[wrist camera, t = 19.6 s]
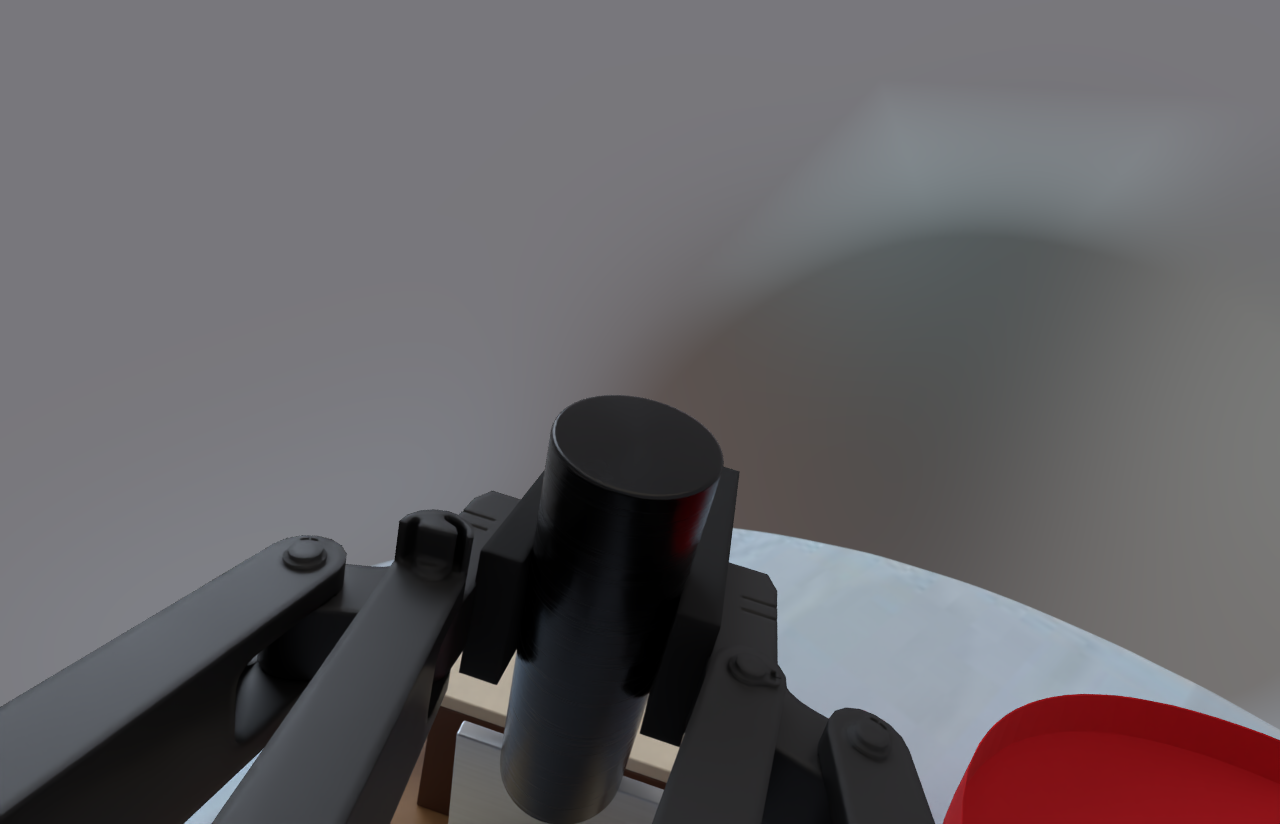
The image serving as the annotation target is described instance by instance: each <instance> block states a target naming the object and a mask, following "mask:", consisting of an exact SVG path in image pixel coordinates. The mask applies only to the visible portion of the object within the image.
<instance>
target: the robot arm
mask: <svg viewBox="0 0 1280 824" xmlns="http://www.w3.org/2000/svg"><path fill="white" fill-rule="evenodd" d="M544 472H545V470H544V471H543V473H542V474H541V475H540V476H539V478H538V479H537V480H536V481H535V483H534V484H533V485H532V487H531V488H530V489H529V490H528V491H527V493H526V494H525V495H524V497H523V498H522V499H517V498H514V497H511V496H508V495H504V494H501V493H498V492H495V491H491V492H488V493H486V494H484V495H481V496H479V497H476V498H474V499H473V500H472V501H471V502H470V503H469V505H468V506H467V507H466V508H465V509H464V511H463V512H461V513H460V514H459V515H457V514H454V513H452V512H449V511H442V510H421V511H417V512H414V513H411V514H408V515H407V516H405V517H404V518H403V519H401V520H400V521H399V529H398V537H397V545H396V553H395V560H394V562H393V563H392V565H391V566H388V567H371V566H361V565H351V564H346V554H347V553H346V552H345V550H344V548H343V547H342V545H340V544H338V543H337V542H335V541H334V540H332V539H328V538H324V537H320V536H306V535H302V536H296V537H290V538H286V539H283V540H281V541H279V542H276V543H274V544H272V545H270V546H269V547H267V548H265V549H264V550H262V551H260V552H259V553H257V554H255V555H254V556H252V557H251V558H249V559H247V560H245V561H244V562H242V563H240V564H239V565H237V566H235V567H233V568H232V569H230V570H228V571H227V572H225V573H223V574H222V575H220V576H219V577H217V578H215V579H213V580H212V581H210V582H208V583H207V584H205V585H203V586H202V587H200V588H199V589H197V590H195V591H193V592H192V593H190V594H189V595H187V596H185V597H183V598H182V599H180V600H178V601H177V602H175V603H173V604H172V605H170V606H168V607H167V608H165V609H163V610H162V611H160V612H158V613H157V614H155V615H153V616H152V617H150V618H148V619H147V620H145V621H143V622H142V623H140V624H138V625H137V626H135V627H133V628H132V629H130V630H128V631H127V632H125V633H123V634H121V635H120V636H118V637H116V638H115V639H113V640H111V641H110V642H108V643H106V644H105V645H103V646H101V647H100V648H98V649H97V650H95V651H93V652H91V653H90V654H88V655H86V656H85V657H83V658H81V659H80V660H78V661H76V662H75V663H73V664H71V665H70V666H68V667H66V668H65V669H63V670H61V671H60V672H58V673H57V674H55V675H53V676H51V677H50V678H48V679H46V680H45V681H43V682H41V683H40V684H38V685H37V686H35V687H33V688H31V689H30V690H28V691H26V692H25V693H23V694H21V695H20V696H18V697H16V698H15V699H13V700H12V701H9V702H8V703H6V704H5V705H3V706H1V707H0V824H184V823H185V822H186V821H187V820H188V819H189V818H190V817H191V816H192V815H193V814H194V813H195V812H196V811H198V810H199V809H200V808H201V807H202V806H203V805H204V804H205V803H206V802H207V801H208V800H209V799H210V798H211V797H212V796H214V795H215V794H216V793H217V792H218V791H219V790H220V789H221V788H222V787H223V786H224V785H225V784H226V783H227V782H228V781H229V780H231V779H232V778H233V777H234V776H235V775H236V774H237V773H238V772H239V771H240V770H241V769H242V768H243V767H244V766H245V765H246V764H248V763H249V762H250V761H251V760H252V759H253V758H254V757H255V756H256V755H257V754H258V753H259V752H260V751H261V750H262V749H263V750H262V752H261V753H260V755H259V756H258V758H257V759H256V760H255V762H254V763H253V765H252V766H251V768H250V769H249V770H248V772H247V773H246V775H245V776H244V778H243V779H242V781H241V782H240V783H239V785H238V786H237V788H236V789H235V791H234V792H233V793H232V795H231V796H230V798H229V799H228V801H227V802H226V804H225V805H224V806H223V808H222V809H221V811H220V812H219V814H218V815H217V817H216V818H215V819H214V821H213V822H212V824H390V823H391V820H392V818H393V816H394V813H395V811H396V809H397V806H398V804H399V802H400V799H401V797H402V795H403V792H404V790H405V788H406V785H407V783H408V781H409V778H410V776H411V774H412V771H413V769H414V766H415V764H416V762H417V759H418V757H419V755H420V752H421V750H422V748H423V745H424V743H425V741H426V738H427V736H428V734H429V731H430V729H431V727H432V724H433V722H434V720H435V717H436V715H437V713H438V710H439V708H440V706H441V703H442V701H443V699H444V696H445V694H446V692H447V689H448V683H449V677H450V672H451V668H452V666H453V665H454V663H455V662H456V660H457V659H458V657H459V656H460V654H461V653H462V657H461V663H460V669H459V673H462V674H465V675H468V676H471V677H473V678H476V679H479V680H482V681H485V682H488V683H491V684H494V685H497V684H498V682H499V681H500V679H501V677H502V675H503V673H504V672H505V670H506V668H507V666H508V664H509V662H510V661H511V659H512V657H513V655H514V653H515V652H516V650H517V645H518V639H519V632H520V626H521V620H522V613H523V607H524V600H525V594H526V587H527V581H528V575H529V568H530V562H531V555H532V549H533V542H534V536H535V530H536V523H537V517H538V510H539V504H540V497H541V491H542V484H543V478H544ZM738 479H739V471H736V470H733V469H729V468H726V467H723V471H722V474H721V477H720V480H719V483H718V486H717V489H716V492H715V495H714V498H713V501H712V504H711V507H710V511H709V514H708V517H707V520H706V523H705V526H704V529H703V532H702V535H701V538H700V541H699V544H698V547H697V550H696V554H695V557H694V560H693V563H692V566H691V569H690V572H689V575H688V578H687V581H686V584H685V587H684V590H683V592H682V594H681V597H680V600H679V603H678V606H677V609H676V612H675V615H674V618H673V621H672V624H671V628H670V631H669V634H668V637H667V640H666V643H665V646H664V649H663V652H662V655H661V658H660V662H659V665H658V668H657V671H656V674H655V677H654V680H653V683H652V686H651V689H650V693H649V697H648V701H647V705H646V709H645V713H644V717H643V721H642V725H641V729H640V734H642V735H645V736H648V737H651V738H653V739H656V740H659V741H662V742H665V743H668V744H671V745H674V746H677V747H680V748H679V750H678V753H677V756H676V759H675V761H674V764H673V767H672V770H671V772H670V775H669V778H668V781H667V783H666V786H665V789H664V791H663V794H662V797H661V800H660V802H659V805H658V808H657V811H656V813H655V816H654V819H653V822H652V824H935V822H934V820H933V817H932V814H931V811H930V808H929V805H928V802H927V800H926V797H925V794H924V791H923V788H922V785H921V782H920V780H919V777H918V774H917V771H916V768H915V765H914V763H913V760H912V757H911V754H910V751H909V749H908V747H907V746H906V744H905V742H904V740H903V738H902V737H901V736H900V735H899V734H898V733H897V732H896V731H895V730H894V729H893V728H892V727H891V726H890V725H889V724H888V723H886V722H885V721H883V720H882V719H880V718H879V717H877V716H876V715H874V714H871V713H868V712H866V711H863V710H861V709H854V708H843V709H840V710H837V711H835V712H834V713H833V714H832V715H831V717H830V718H829V719H828V718H826V717H825V716H823V715H821V714H819V713H818V712H816V711H814V710H813V709H811V708H809V707H808V706H806V705H805V704H803V703H802V702H800V701H799V700H798V699H797V698H796V697H795V696H794V695H793V694H791V693H790V692H789V690H788V689H787V686H786V677H785V675H784V673H783V672H782V670H781V668H780V667H779V665H778V662H777V609H776V608H777V590H776V588H775V586H774V585H773V583H772V581H771V580H770V578H769V576H768V575H767V574H764V573H761V572H758V571H755V570H751V569H748V568H745V567H742V566H739V565H735V564H732V563H729V554H730V546H731V538H732V530H733V521H734V512H735V505H736V496H737V488H738ZM462 651H463V652H462ZM683 736H684V737H683Z"/></svg>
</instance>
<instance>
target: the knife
mask: <svg viewBox="0 0 1280 824" xmlns="http://www.w3.org/2000/svg"><path fill="white" fill-rule="evenodd" d="M723 464H724V461H723V455H722V451H721V448H720V445H719V444H718V442H717V440H716V439H715V437H714V436H713V435H712V433H711V432H709V430H708V429H707V428H706V427H705V426H703V425H702V424H701V423H700V422H698V421H697V420H696V419H694V418H693V417H691V416H689V415H688V414H686V413H684V412H682V411H680V410H678V409H676V408H674V407H671V406H669V405H666V404H663V403H660V402H657V401H653V400H650V399H646V398H640V397H634V396H625V395H604V396H596V397H591V398H587V399H583V400H580V401H578V402H575V403H573V404H572V405H570V406H568V407H567V408H565V409H564V410H563V411H562V412H561V413H560V414H559V415H558V416H557V418H556V419H555V421H554V423H553V425H552V428H551V434H550V440H549V447H548V452H547V459H546V465H545V472H544V478H543V484H542V491H541V497H540V504H539V510H538V517H537V523H536V530H535V536H534V542H533V549H532V555H531V562H530V568H529V575H528V581H527V587H526V594H525V600H524V607H523V613H522V620H521V626H520V632H519V639H518V645H517V652H516V658H515V665H514V671H513V677H512V684H511V690H510V697H509V703H508V710H507V716H506V722H505V729H504V734H502V733H499V732H496V731H494V730H491V729H488V728H485V727H482V726H479V725H476V724H473V723H471V722H468V721H463V722H462V724H461V726H460V728H459V730H458V732H457V736H456V747H455V757H454V767H453V778H452V788H451V799H450V809H449V820H448V824H652V822H653V819H654V816H655V813H656V811H657V808H658V805H659V802H660V800H661V797H662V794H663V791H664V790H663V789H660V788H657V787H654V786H651V785H648V784H646V783H643V782H640V781H637V780H634V779H631V778H628V777H626V776H623V775H624V772H625V769H626V765H627V762H628V759H629V756H630V753H631V750H632V747H633V744H634V741H635V738H636V735H637V732H638V729H639V726H640V722H641V719H642V716H643V713H644V710H645V707H646V704H647V701H648V697H649V693H650V689H651V686H652V683H653V680H654V677H655V674H656V671H657V668H658V665H659V662H660V658H661V655H662V652H663V649H664V646H665V643H666V640H667V637H668V634H669V631H670V628H671V624H672V621H673V618H674V615H675V612H676V609H677V606H678V603H679V600H680V597H681V594H682V592H683V590H684V587H685V584H686V581H687V578H688V575H689V572H690V569H691V566H692V563H693V560H694V557H695V554H696V550H697V547H698V544H699V541H700V538H701V535H702V532H703V529H704V526H705V523H706V520H707V517H708V514H709V511H710V507H711V504H712V501H713V498H714V495H715V492H716V489H717V486H718V483H719V480H720V477H721V474H722V471H723Z"/></svg>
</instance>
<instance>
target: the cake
mask: <svg viewBox="0 0 1280 824" xmlns="http://www.w3.org/2000/svg"><path fill="white" fill-rule="evenodd" d="M462 652H463V651H462ZM516 652H517V650H516ZM516 652H515V653H514V655H513V657H512V659H511V661H510V662H509V664H508V666H507V668H506V670H505V672H504V673H503V675H502V677H501V679H500V681H499V682H498V684H497V685H494V684H491V683H488V682H485V681H482V680H479V679H476V678H473V677H471V676H468V675H465V674H462V673H459V669H460V663H461V657H462V653H461V654H460V656H459V657H458V659H457V660H456V662H455V663H454V665H453V666H452V668H451V672H450V677H449V683H448V689H447V692H446V694H445V696H444V699H443V701H442V703H441V706H440V708H439V710H438V713H437V715H436V717H435V720H434V722H433V724H432V727H431V729H430V731H429V734H428V736H427V741H426V748H425V754H424V760H423V767H422V773H421V779H420V785H419V792H418V798H417V805H419V806H422V807H424V808H427V809H430V810H433V811H436V812H438V813H441V814H444V815H447V816H449V809H450V799H451V788H452V778H453V767H454V757H455V747H456V736H457V732H458V730H459V728H460V726H461V724H462V722H463V721H468V722H471V723H473V724H476V725H479V726H482V727H485V728H488V729H491V730H494V731H496V732H499V733H502V734H504V729H505V722H506V716H507V710H508V703H509V697H510V690H511V684H512V677H513V671H514V665H515V658H516ZM646 705H647V704H646ZM645 709H646V707H645ZM644 713H645V710H644ZM644 713H643V716H642V719H641V722H640V726H639V729H638V732H637V735H636V738H635V741H634V744H633V747H632V750H631V753H630V756H629V759H628V762H627V765H626V769H625V772H624V775H623V776H626V777H628V778H631V779H634V780H637V781H640V782H643V783H646V784H648V785H651V786H654V787H657V788H660V789H663V790H664V789H665V786H666V783H667V781H668V778H669V775H670V772H671V770H672V767H673V764H674V761H675V759H676V756H677V753H678V750H679V748H680V747H677V746H674V745H671V744H668V743H665V742H662V741H659V740H656V739H653V738H651V737H648V736H645V735H642V734H640V729H641V725H642V721H643V717H644ZM683 737H684V736H683Z"/></svg>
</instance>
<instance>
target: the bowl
mask: <svg viewBox="0 0 1280 824" xmlns="http://www.w3.org/2000/svg"><path fill="white" fill-rule="evenodd" d="M943 824H1280V740H1278V739H1276V738H1273V737H1271V736H1268V735H1266V734H1263V733H1260V732H1257V731H1255V730H1252V729H1249V728H1246V727H1243V726H1240V725H1237V724H1234V723H1231V722H1228V721H1225V720H1222V719H1219V718H1216V717H1213V716H1209V715H1206V714H1203V713H1199V712H1196V711H1192V710H1188V709H1185V708H1181V707H1177V706H1173V705H1168V704H1163V703H1158V702H1153V701H1149V700H1143V699H1138V698H1132V697H1124V696H1115V695H1099V694H1075V695H1063V696H1057V697H1050V698H1046V699H1042V700H1038V701H1035V702H1032V703H1029V704H1027V705H1024V706H1022V707H1020V708H1017V709H1015V710H1014V711H1012V712H1010V713H1009V714H1007V715H1006V716H1004V717H1003V718H1002V719H1001V720H999V721H998V722H997V723H996V724H995V725H994V726H993V727H992V728H991V729H990V730H989V731H988V732H987V734H986V735H985V736H984V738H983V739H982V741H981V742H980V743H979V745H978V747H977V749H976V751H975V753H974V755H973V758H972V760H971V762H970V764H969V766H968V768H967V770H966V772H965V774H964V776H963V778H962V780H961V782H960V784H959V786H958V788H957V790H956V792H955V794H954V797H953V799H952V802H951V804H950V806H949V809H948V811H947V814H946V816H945V818H944V822H943Z"/></svg>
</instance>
